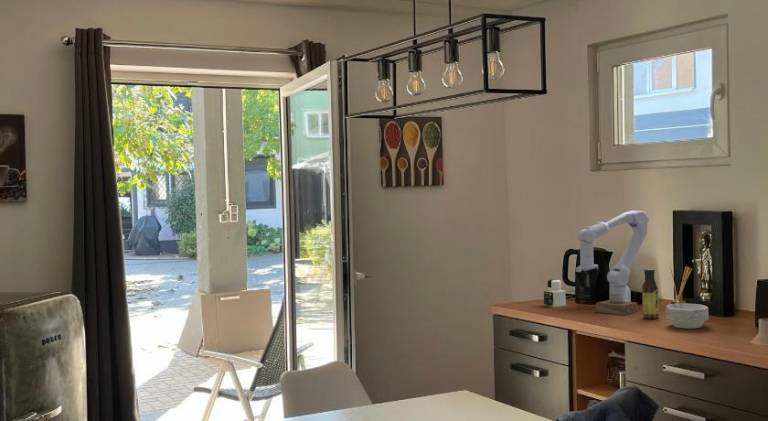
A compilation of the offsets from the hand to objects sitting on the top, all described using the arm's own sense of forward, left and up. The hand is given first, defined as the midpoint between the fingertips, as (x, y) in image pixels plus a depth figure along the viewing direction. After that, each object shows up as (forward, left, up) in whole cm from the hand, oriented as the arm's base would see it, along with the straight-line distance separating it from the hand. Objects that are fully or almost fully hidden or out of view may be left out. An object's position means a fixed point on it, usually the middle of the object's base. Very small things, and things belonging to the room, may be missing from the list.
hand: (587, 286), depth 372 cm
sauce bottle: (+9, +36, -10) cm, 38 cm away
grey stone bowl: (+19, +57, -10) cm, 61 cm away
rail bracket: (+4, +17, -10) cm, 20 cm away
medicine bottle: (+4, -15, -10) cm, 19 cm away
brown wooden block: (+4, +17, -9) cm, 20 cm away
